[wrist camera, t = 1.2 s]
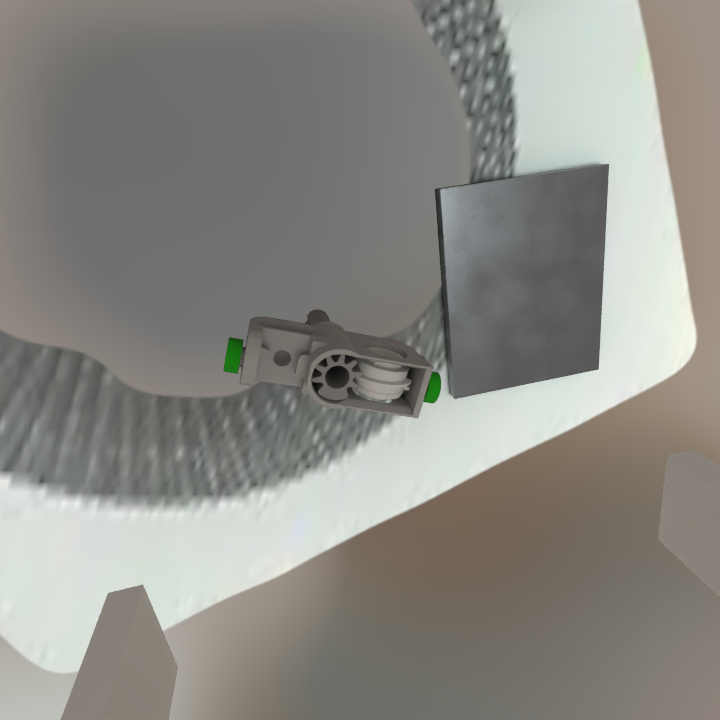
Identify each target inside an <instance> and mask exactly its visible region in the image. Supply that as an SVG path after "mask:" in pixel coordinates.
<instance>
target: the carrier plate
mask: <svg viewBox="0 0 720 720" xmlns="http://www.w3.org/2000/svg"><path fill="white" fill-rule="evenodd" d="M608 172H609V164H598V165H591V166H585V167H578V168H571V169H565V170H558V171H551V172H545V173H538V174H532V175H525V176H518V177H512V178H505V179H498V180H492V181H485V182H478V183H472V184H465V185H459V186H452V187H445V188H439V189H435V195H436V210H437V224H438V237H439V252H440V266H441V280H442V294H443V308H444V322H445V336H446V350H447V364H448V378H449V392H450V394H451V395H452V396H453V398H454V399H456V398H461V397H466V396H471V395H476V394H481V393H486V392H491V391H495V390H500V389H505V388H510V387H515V386H520V385H525V384H529V383H534V382H539V381H544V380H549V379H554V378H559V377H564V376H568V375H573V374H578V373H583V372H588V371H593V370H598V369H599V350H600V330H601V311H602V291H603V271H604V251H605V231H606V212H607V192H608Z"/></svg>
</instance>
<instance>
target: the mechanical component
mask: <svg viewBox="0 0 720 720" xmlns="http://www.w3.org/2000/svg"><path fill="white" fill-rule="evenodd" d="M307 317H308V320H307V322H305V324H303V323H297V322H292V321H286V320H280V319H276V318H269V317H256V318H252V319H251V320H250V324H249V330H248V336H247V342H246V347H242V346H243V340H242V339H236V338H229V342H228V347H227V353H226V358H225V365H224V371H225V372H231V373H238V369H239V367H242V370H241V377H240V384H243V385H250V386H253V385H254V382H255V380H256V381H263V382H270V383H276V384H283V385H289V386H296V387H300V388H301V393H302V394H309V395H310V396H311V397H312V399H313V400H314V401H316V402H317V403H318V404H320V405H321V406H324V407H327V408H331V409H341V408H351V409H358V410H365V411H372V412H379V413H386V414H393V415H400V416H407V417H414V418H418V417H419V413H420V410H421V407H422V403H423V402H427V403H435V402H436V400H437V399H438V397H439V394H440V389H441V378H440V375H439V373H437V372H432V370H433V367H432V366H431V365H430V364H429V363H428V361H427V360H426V359H425V358H424V357H423V356H421V355H419V354H418V353H417V352H416V350H415V349H413V348H412V347H410V346H408V345H406V344H404V343H401V342H398V341H394V340H390V339H385V338H379V337H374V336H368V335H363V334H357V333H352V332H346V331H344V330H343V328H342V327H340V326H339V325H338V324H336V323H333V322H330V320H329V317H328V316H327V314H326V313H325V312H324V311H321V310H313V311H311V312H310V313H309V314H308V316H307ZM354 390H357V391H358V392H359V393H361V394H363V395H365V396H367V397H370V398H373V399H378V400H389V399H391V400H392V401H393V402H391V403H377V402H373V401H369V400H366V399H364V398H362V397H360V396H358V395H357V394H355V393H354Z"/></svg>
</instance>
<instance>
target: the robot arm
mask: <svg viewBox="0 0 720 720" xmlns="http://www.w3.org/2000/svg"><path fill="white" fill-rule="evenodd" d="M658 539H659V540H660V541H661V542H662V543H663V544H664V545H665V546H666V547H667V548H668V549H669V550H670V551H671V552H672V553H674V554H675V555H676V556H677V557H678V558H679V559H680V560H681V561H682V562H683V563H684V564H685V565H686V566H687V567H688V568H690V569H691V570H692V571H693V572H694V573H695V574H696V575H697V576H698V577H699V578H700V579H701V580H702V581H703V582H704V583H705V584H706V585H707V586H709V587H710V588H711V589H712V590H713V591H714V592H715V593H716V594H717V595H718V596H720V465H718V464H716V463H715V462H713V461H712V460H710V459H708V458H707V457H706V456H704V455H702V454H701V453H699V452H698V451H696V450H695V449H692V450H688V451H684V452H680V453H676V454H672V455H668V456H667V462H666V471H665V481H664V490H663V500H662V509H661V519H660V529H659V537H658ZM177 669H178V666H177V664H176V662H175V659H174V657H173V654H172V652H171V650H170V647H169V645H168V643H167V640H166V638H165V636H164V633H163V631H162V629H161V626H160V624H159V621H158V619H157V617H156V614H155V612H154V610H153V607H152V605H151V603H150V600H149V598H148V596H147V593H146V591H145V588H144V586H143V585H139V586H135V587H131V588H127V589H123V590H119V591H115V592H111V593H108V595H107V598H106V600H105V603H104V606H103V608H102V611H101V614H100V616H99V619H98V622H97V624H96V627H95V630H94V632H93V635H92V638H91V640H90V643H89V646H88V648H87V651H86V654H85V656H84V659H83V662H82V664H81V667H80V670H79V672H78V675H77V678H76V680H75V683H74V686H73V688H72V691H71V694H70V696H69V699H68V702H67V705H66V708H65V710H64V713H63V715H62V718H61V720H168V719H169V714H170V708H171V703H172V697H173V691H174V686H175V680H176V674H177Z"/></svg>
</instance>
